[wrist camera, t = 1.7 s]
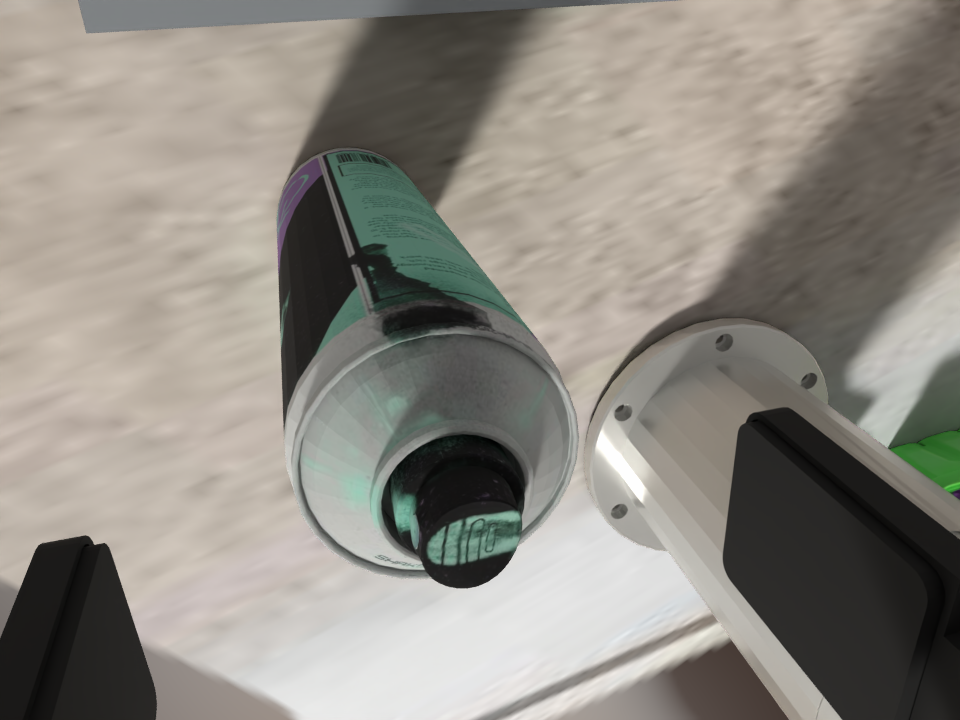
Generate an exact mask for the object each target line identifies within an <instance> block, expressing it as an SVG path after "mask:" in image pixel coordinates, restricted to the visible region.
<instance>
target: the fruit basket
mask: <svg viewBox="0 0 960 720" xmlns="http://www.w3.org/2000/svg"><path fill="white" fill-rule="evenodd" d="M890 450H891V451H892V452H894V453H895V454H897V455H898V456H899V457H901V458H902V459H903V460H905V461H906V462H908V463H909V464H910V465H912V466H913V467H915V468H916V469H917V470H919V471H920V472H922V473H923V474H924V475H926V476H927V477H928V478H930V479H931V480H933V481H934V482H935V483H937V484H938V485H940V486H941V487H942V488H944V489H945V490H946V491H948V492H949V493H951V494H952V495H953V496H955V497H956V498H958V499H959V500H960V429H959V430H957V431H947V432H943V433H940V434H937V435H933V436H930V437H927V438H925V439H923V440H921V441H919V442H918V443H907V444H904V445H901V446H898V447H895V448H891V449H890Z"/></svg>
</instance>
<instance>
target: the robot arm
mask: <svg viewBox="0 0 960 720" xmlns="http://www.w3.org/2000/svg"><path fill="white" fill-rule="evenodd" d="M584 472H585V477H586V482H587V487H588V490H589V492H590V494H591V497H592V499H593V501H594V503H595V505H596V507H597V508H598V510H599V511H600V513H601V514H602V516H603V517H604V519H605V520H606V522H607V523H608V524H609V525H610V526H611V527H612V528H613V529H615V530H616V531H617V532H618V533H619V534H620V535H621V536H623V537H624V538H626V539H628V540H630V541H631V542H633V543H635V544H637V545H640V546H643V547H646V548H650V549H653V550H658V551H668V553H669V554H670V555H671V557H672V558H673V560H674V561H675V562H676V564H677V565H678V566H679V568H680V569H681V571H682V572H683V573H684V575H685V576H686V578H687V579H688V580H689V582H690V583H691V584H692V586H693V587H694V589H695V590H696V591H697V593H698V594H699V595H700V597H701V598H702V600H703V601H704V602H705V604H706V605H707V607H708V608H709V609H710V611H711V612H712V613H713V615H714V616H715V618H716V619H717V620H718V622H719V623H720V624H721V626H722V627H723V629H724V630H725V631H726V633H727V634H728V636H729V637H730V638H731V640H732V641H733V642H734V644H735V645H736V647H737V648H738V649H739V651H740V652H741V653H742V655H743V656H744V657H745V659H746V660H747V662H748V663H749V664H750V666H751V667H752V669H753V670H754V671H755V673H756V674H757V676H758V677H759V678H760V680H761V681H762V682H763V684H764V685H765V687H766V688H767V689H768V691H769V692H770V694H771V695H772V696H773V698H774V699H775V700H776V702H777V703H778V705H779V706H780V707H781V709H782V710H783V712H784V713H785V714H786V716H787V717H788V718H789V720H960V500H959V499H958V498H956V497H955V496H953V495H952V494H951V493H949V492H948V491H946V490H945V489H944V488H942V487H941V486H940V485H938V484H937V483H935V482H934V481H933V480H931V479H930V478H928V477H927V476H926V475H924V474H923V473H922V472H920V471H919V470H917V469H916V468H915V467H913V466H912V465H910V464H909V463H908V462H906V461H905V460H903V459H902V458H901V457H899V456H898V455H897V454H895V453H894V452H892V451H891V450H890V449H888V448H887V447H885V446H884V445H883V444H881V443H880V442H879V441H877V440H876V439H874V438H873V437H872V436H870V435H869V434H867V433H866V432H865V431H863V430H862V429H861V428H859V427H858V426H856V425H855V424H854V423H852V422H851V421H849V420H848V419H847V418H845V417H844V416H842V415H841V414H840V413H838V412H837V411H836V410H834V409H833V408H831V407H830V406H829V405H828V391H827V387H826V383H825V379H824V375H823V373H822V371H821V369H820V367H819V365H818V364H817V362H816V360H815V358H814V357H813V356H812V355H811V354H810V352H809V351H808V350H807V349H806V348H805V347H804V346H803V345H802V344H801V343H800V342H798V341H797V340H795V339H794V338H792V337H791V336H789V335H788V334H786V333H785V332H783V331H781V330H779V329H777V328H775V327H773V326H771V325H769V324H767V323H764V322H759V321H754V320H750V319H745V318H721V319H716V320H711V321H706V322H701V323H697V324H694V325H691V326H689V327H686V328H684V329H681V330H678V331H676V332H673V333H672V334H670V335H668V336H667V337H665V338H663V339H661V340H660V341H658V342H656V343H655V344H653V345H651V346H650V347H649V348H647V349H646V350H645V351H644V352H643V353H641V354H640V355H639V356H638V357H636V358H635V359H634V360H633V361H632V362H630V363H629V364H628V366H627V367H626V368H625V369H624V370H623V371H622V372H621V373H620V375H619V376H618V377H617V378H616V379H615V380H614V381H613V382H612V384H611V385H610V387H609V389H608V390H607V392H606V393H605V395H604V396H603V398H602V400H601V401H600V403H599V404H598V407H597V409H596V411H595V414H594V416H593V419H592V421H591V423H590V426H589V430H588V434H587V439H586V443H585V448H584ZM156 707H157V701H156V692H155V687H154V683H153V680H152V677H151V674H150V671H149V668H148V665H147V662H146V658H145V655H144V652H143V649H142V646H141V643H140V640H139V637H138V634H137V631H136V628H135V625H134V622H133V619H132V616H131V613H130V610H129V606H128V603H127V600H126V597H125V594H124V591H123V588H122V585H121V582H120V579H119V576H118V573H117V570H116V567H115V564H114V561H113V557H112V554H111V552H110V549H109V547H108V546H107V544H105V543H102V544H97V545H94V544H93V541H92V540H91V538H90V537H89V536H86V535H85V536H80V537H74V538H69V539H64V540H58V541H53V542H47V543H42V544H40V545H38V547H37V549H36V550H35V553H34V555H33V558H32V560H31V563H30V565H29V568H28V570H27V573H26V575H25V578H24V580H23V583H22V585H21V588H20V590H19V593H18V595H17V598H16V600H15V603H14V605H13V608H12V610H11V613H10V615H9V618H8V621H7V623H6V626H5V628H4V631H3V633H2V636H1V638H0V720H155V719H156V710H157V708H156Z"/></svg>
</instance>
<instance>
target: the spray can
mask: <svg viewBox="0 0 960 720" xmlns="http://www.w3.org/2000/svg"><path fill="white" fill-rule="evenodd" d="M277 243H278V273H279V302H280V332H281V362H282V391H283V421H284V445H285V457H286V468H287V471H288V474H289V477H290V480H291V483H292V486H293V491H294V494H295V497H296V500H297V503H298V506H299V509H300V512H301V515H302V516H303V518H304V520H305V521H306V523H307V524H308V526H309V528H310V529H311V531H312V532H313V534H314V535H315V536H316V537H317V538H318V539H319V540H320V541H321V542H322V543H323V544H324V545H325V546H326V547H327V548H328V549H329V550H330V551H331V552H332V553H334V554H335V555H337V556H339V557H340V558H342V559H343V560H345V561H346V562H348V563H350V564H351V565H353V566H356V567H358V568H361V569H363V570H366V571H369V572H371V573H374V574H377V575H383V576H388V577H393V578H398V579H433V580H435V581H437V582H438V583H440V584H443V585H445V586H448V587H453V588H472V587H476V586H479V585H482V584H484V583H486V582H488V581H490V580H491V579H493V578H494V577H496V576H497V575H498V574H499V573H500V572H501V571H502V570H503V569H504V568H505V567H506V565H507V564H508V563H509V561H510V560H511V558H512V556H513V555H514V553H515V551H516V549H517V546H519V545H520V544H522V543H523V542H524V541H525V540H527V539H528V538H529V537H530V536H531V535H532V534H533V533H534V532H535V531H536V530H537V529H538V528H540V527H541V526H542V525H543V523H544V522H545V521H546V520H547V518H548V517H549V516H550V514H551V513H552V512H553V511H554V509H555V508H556V507H557V505H558V504H559V502H560V500H561V498H562V496H563V494H564V492H565V491H566V489H567V487H568V485H569V483H570V480H571V476H572V473H573V470H574V467H575V464H576V460H577V450H578V441H579V434H578V425H577V417H576V412H575V409H574V406H573V404H572V401H571V398H570V395H569V392H568V390H567V389H566V387H565V386H564V383H563V381H562V378H561V375H560V372H559V370H558V368H557V367H556V365H555V364H554V362H553V361H552V359H551V357H550V356H549V354H548V353H547V351H546V350H545V348H544V347H543V346H542V345H541V343H540V342H539V341H538V340H537V338H536V337H535V336H534V335H533V333H532V332H531V331H530V330H529V328H528V327H527V326H526V325H525V323H524V322H523V321H522V319H521V318H520V317H519V316H518V314H517V313H516V312H515V311H514V309H513V308H512V307H511V306H510V304H509V303H508V302H507V301H506V299H505V298H504V297H503V296H502V294H501V293H500V292H499V291H498V289H497V288H496V287H495V286H494V284H493V283H492V282H491V280H490V279H489V278H488V277H487V275H486V274H485V273H484V272H483V270H482V269H481V268H480V267H479V265H478V264H477V263H476V262H475V260H474V259H473V258H472V257H471V255H470V254H469V253H468V252H467V250H466V249H465V248H464V247H463V245H462V244H461V243H460V241H459V240H458V239H457V238H456V236H455V235H454V234H453V233H452V231H451V230H450V229H449V228H448V226H447V225H446V224H445V223H444V221H443V220H442V219H441V218H440V216H439V215H438V214H437V213H436V211H435V210H434V209H433V207H432V206H431V205H430V204H429V202H428V201H427V200H426V199H425V197H424V196H423V195H422V194H421V192H420V191H419V190H418V189H417V187H416V186H415V185H414V184H413V182H412V181H411V180H410V179H409V177H408V176H407V175H406V174H405V173H404V172H403V171H402V170H401V169H400V168H399V167H398V166H397V165H396V164H394V163H393V162H391V161H390V160H388V159H387V158H385V157H384V156H382V155H380V154H377V153H375V152H372V151H370V150H365V149H360V148H337V149H332V150H327V151H324V152H322V153H320V154H317V155H315V156H313V157H311V158H310V159H309V160H307V161H306V162H304V163H303V164H301V165H300V166H299V168H298V169H297V170H296V171H295V172H294V173H293V174H292V175H291V177H290V178H289V180H288V181H287V183H286V185H285V186H284V188H283V191H282V194H281V197H280V200H279V204H278V211H277Z"/></svg>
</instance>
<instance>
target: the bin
mask: <svg viewBox="0 0 960 720" xmlns="http://www.w3.org/2000/svg"><path fill="white" fill-rule="evenodd" d="M658 1H676V0H78V2H79V6H80V10H81V14H82V18H83V22H84V26H85V30H86V33H102V32H120V31H137V30H155V29H173V28H191V27H209V26H227V25H245V24H263V23H281V22H299V21H317V20H335V19H353V18H371V17H389V16H407V15H425V14H443V13H461V12H479V11H497V10H515V9H533V8H551V7H569V6H586V5H604V4H622V3H640V2H658Z"/></svg>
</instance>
